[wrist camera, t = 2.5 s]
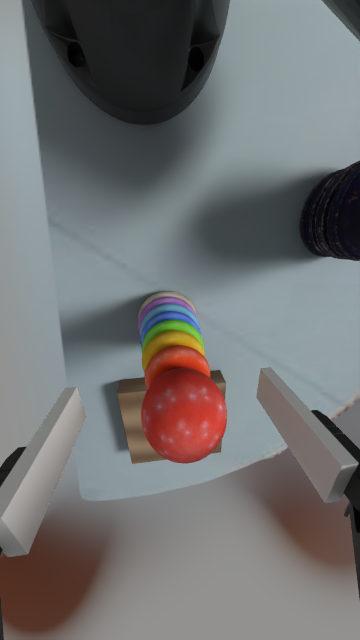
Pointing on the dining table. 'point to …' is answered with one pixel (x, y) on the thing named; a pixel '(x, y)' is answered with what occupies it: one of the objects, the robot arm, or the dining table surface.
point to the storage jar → (334, 216)
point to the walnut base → (130, 407)
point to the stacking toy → (178, 382)
